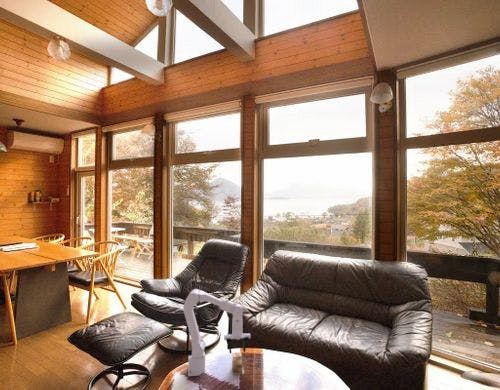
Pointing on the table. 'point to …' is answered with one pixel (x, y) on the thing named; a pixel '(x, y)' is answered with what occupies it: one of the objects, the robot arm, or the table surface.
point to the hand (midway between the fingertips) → (237, 352)
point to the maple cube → (237, 358)
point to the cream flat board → (237, 373)
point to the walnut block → (236, 368)
